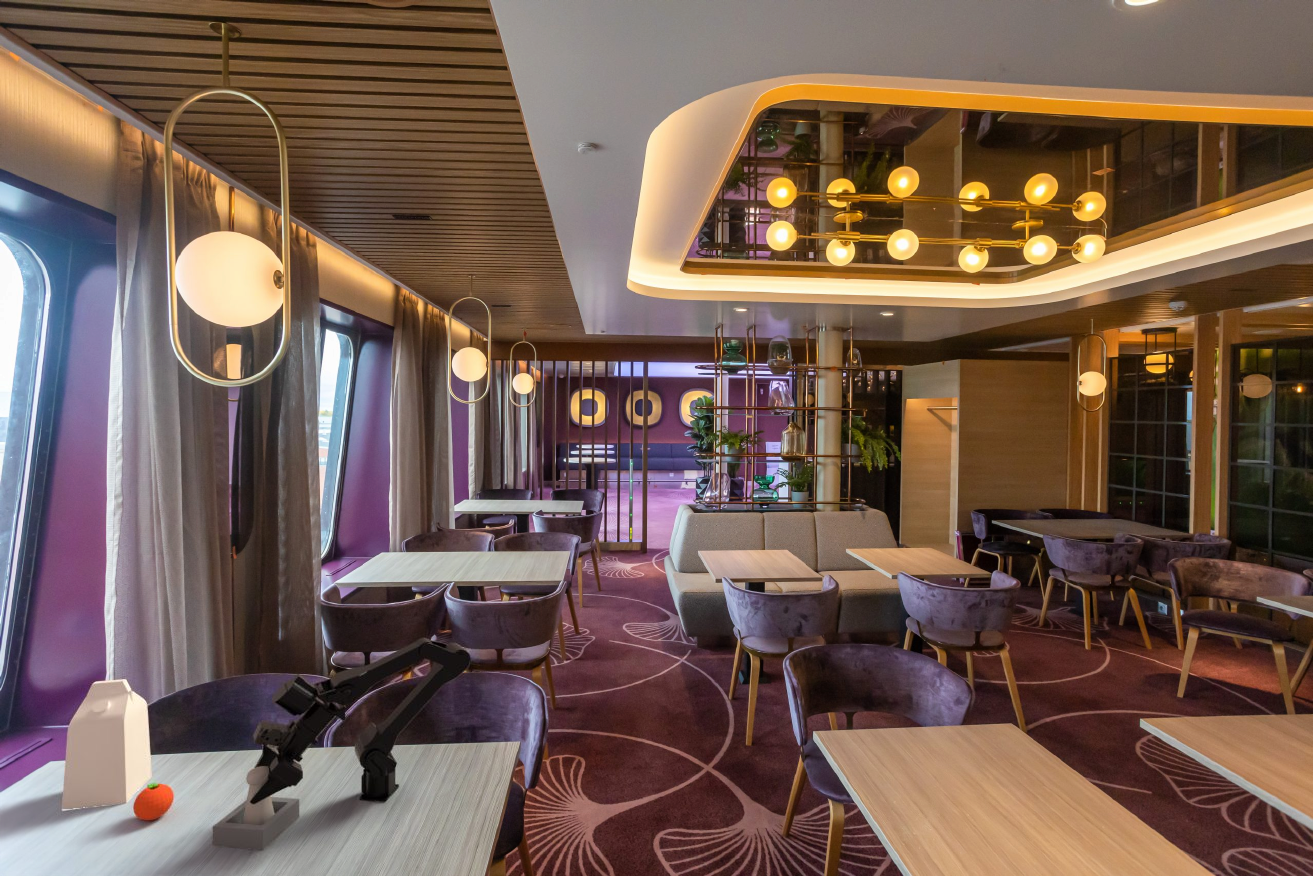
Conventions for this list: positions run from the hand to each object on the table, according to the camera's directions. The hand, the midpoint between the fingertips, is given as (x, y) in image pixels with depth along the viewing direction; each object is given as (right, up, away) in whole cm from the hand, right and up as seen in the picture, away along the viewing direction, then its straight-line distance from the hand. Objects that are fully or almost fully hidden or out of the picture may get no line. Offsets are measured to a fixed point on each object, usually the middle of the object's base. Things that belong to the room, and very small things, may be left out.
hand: (249, 792), depth 132 cm
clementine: (-25, -8, +5) cm, 27 cm away
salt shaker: (+1, -9, +1) cm, 9 cm away
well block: (+1, -9, +1) cm, 9 cm away
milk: (-42, -8, +14) cm, 45 cm away
